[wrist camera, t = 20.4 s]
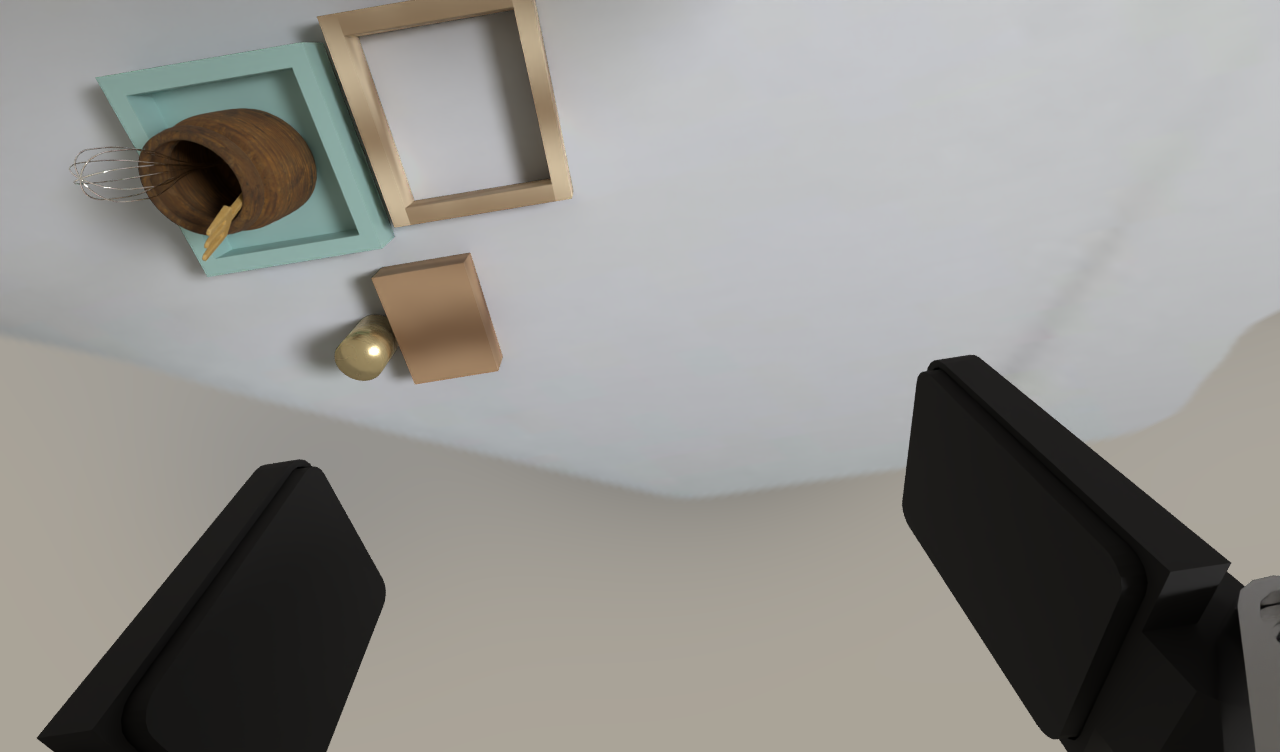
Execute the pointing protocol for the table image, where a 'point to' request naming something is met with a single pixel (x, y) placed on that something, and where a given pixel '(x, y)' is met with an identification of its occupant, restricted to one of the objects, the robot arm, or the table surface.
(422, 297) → the board
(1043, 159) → the table surface
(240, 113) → the utensil holder
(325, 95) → the tray
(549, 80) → the wooden square frame
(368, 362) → the cylinder
